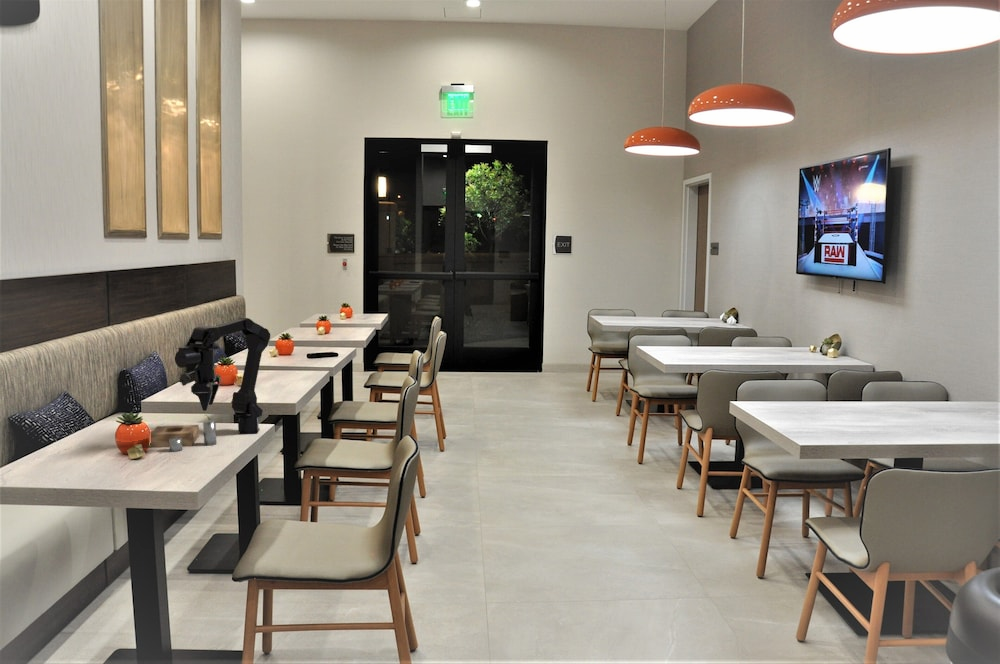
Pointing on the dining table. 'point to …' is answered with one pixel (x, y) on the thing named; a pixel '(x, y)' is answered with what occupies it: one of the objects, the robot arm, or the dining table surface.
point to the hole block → (174, 435)
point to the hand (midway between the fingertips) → (207, 407)
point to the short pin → (175, 444)
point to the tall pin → (209, 433)
